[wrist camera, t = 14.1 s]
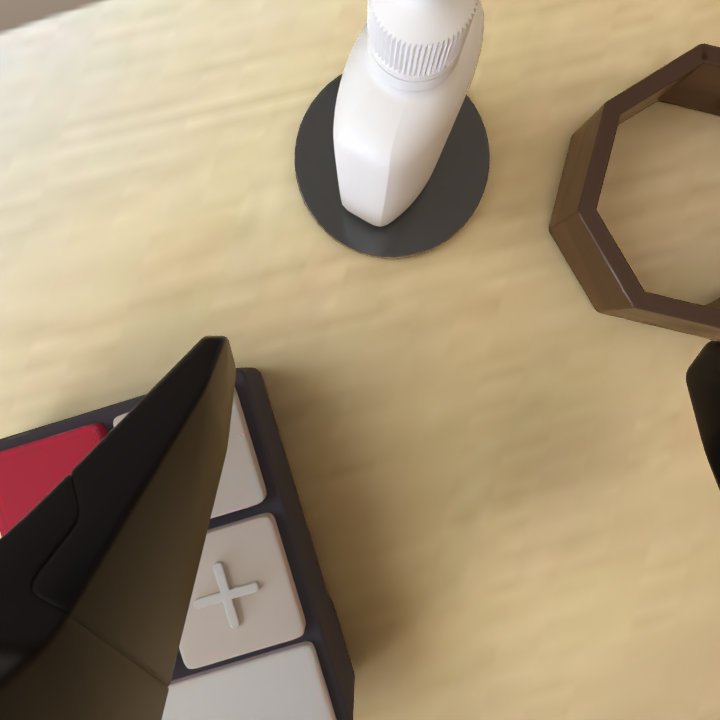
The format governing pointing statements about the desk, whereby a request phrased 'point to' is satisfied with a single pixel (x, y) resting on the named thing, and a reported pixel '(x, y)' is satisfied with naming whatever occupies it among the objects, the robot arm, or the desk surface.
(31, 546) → the robot arm
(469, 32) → the eye dropper bottle
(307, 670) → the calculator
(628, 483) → the desk surface
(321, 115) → the coaster
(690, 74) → the rack
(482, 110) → the desk surface
